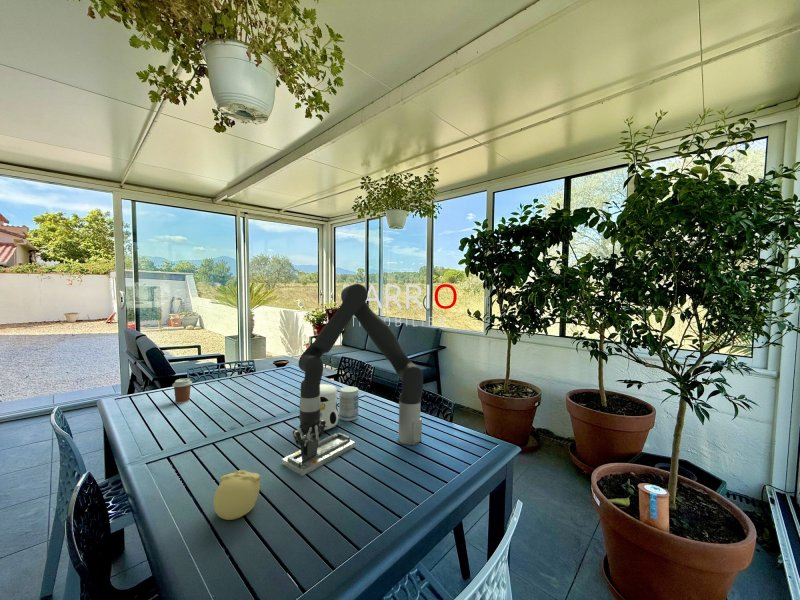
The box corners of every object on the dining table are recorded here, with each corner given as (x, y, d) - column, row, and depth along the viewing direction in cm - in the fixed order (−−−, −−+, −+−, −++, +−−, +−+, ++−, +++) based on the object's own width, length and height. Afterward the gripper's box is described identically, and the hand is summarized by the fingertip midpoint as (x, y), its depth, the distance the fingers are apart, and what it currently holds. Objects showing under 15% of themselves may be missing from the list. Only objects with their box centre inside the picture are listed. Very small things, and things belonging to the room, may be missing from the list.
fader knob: (310, 451, 121) (310, 436, 121) (317, 454, 119) (317, 439, 119) (301, 455, 118) (301, 439, 118) (308, 459, 116) (308, 443, 115)
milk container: (299, 437, 137) (300, 396, 136) (301, 420, 154) (301, 384, 153) (339, 433, 142) (340, 393, 141) (337, 417, 158) (337, 382, 158)
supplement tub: (358, 421, 155) (358, 391, 154) (338, 422, 153) (339, 392, 153) (358, 413, 164) (358, 385, 164) (339, 414, 163) (340, 386, 162)
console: (335, 438, 137) (335, 430, 137) (355, 446, 130) (355, 438, 130) (282, 464, 116) (282, 455, 116) (302, 476, 109) (302, 466, 109)
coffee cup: (174, 399, 177) (174, 378, 177) (193, 397, 181) (193, 377, 181) (170, 405, 169) (170, 383, 169) (190, 403, 173) (190, 381, 173)
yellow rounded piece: (265, 496, 98) (265, 462, 98) (247, 525, 86) (247, 487, 86) (227, 496, 98) (227, 462, 97) (205, 525, 86) (205, 487, 85)
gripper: (300, 415, 110) (299, 463, 111) (331, 404, 121) (330, 447, 122) (287, 410, 114) (287, 456, 115) (318, 399, 126) (318, 441, 126)
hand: (309, 451), depth 118 cm, fingers closed on fader knob, 4 cm apart
